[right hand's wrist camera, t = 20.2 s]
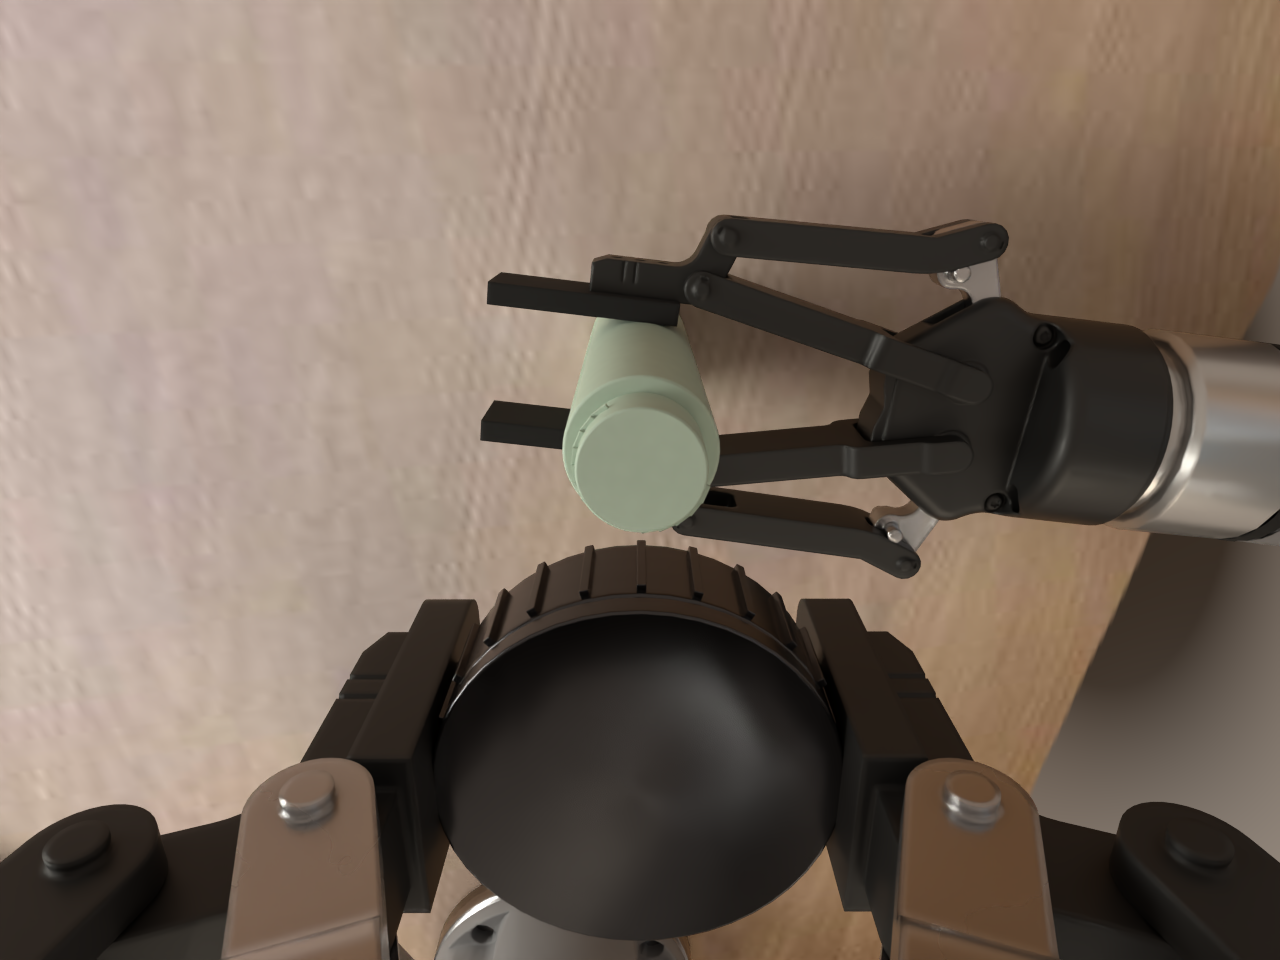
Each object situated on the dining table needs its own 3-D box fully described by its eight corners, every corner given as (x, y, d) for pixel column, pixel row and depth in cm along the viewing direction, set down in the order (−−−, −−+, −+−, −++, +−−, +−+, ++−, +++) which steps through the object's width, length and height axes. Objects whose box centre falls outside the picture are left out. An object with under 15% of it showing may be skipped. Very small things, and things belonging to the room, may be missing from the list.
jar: (577, 364, 36) (533, 514, 20) (612, 276, 34) (593, 363, 19) (663, 399, 36) (685, 571, 21) (700, 313, 35) (754, 428, 19)
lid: (888, 620, 11) (932, 700, 9) (724, 881, 12) (737, 988, 11) (531, 480, 10) (511, 539, 8) (409, 778, 12) (371, 876, 10)
